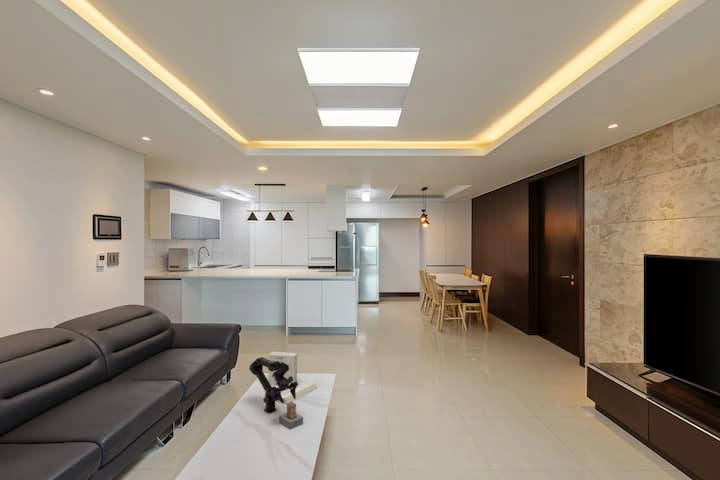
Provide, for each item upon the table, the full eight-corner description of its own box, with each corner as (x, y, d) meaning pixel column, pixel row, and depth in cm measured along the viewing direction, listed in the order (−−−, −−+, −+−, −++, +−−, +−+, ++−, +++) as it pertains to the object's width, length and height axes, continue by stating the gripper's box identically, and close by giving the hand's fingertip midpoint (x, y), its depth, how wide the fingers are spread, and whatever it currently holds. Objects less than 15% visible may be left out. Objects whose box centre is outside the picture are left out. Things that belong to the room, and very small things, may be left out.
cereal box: (268, 384, 285) (269, 354, 286) (272, 381, 293) (272, 351, 293) (293, 386, 282) (294, 355, 282) (296, 383, 289) (297, 353, 290)
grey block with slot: (279, 422, 225) (279, 416, 225) (292, 417, 232) (292, 410, 233) (290, 429, 217) (290, 422, 217) (303, 423, 224) (303, 417, 224)
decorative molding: (276, 405, 255) (286, 405, 250) (275, 398, 256) (285, 398, 251) (308, 389, 284) (317, 389, 279) (306, 383, 285) (316, 382, 280)
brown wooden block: (286, 422, 225) (286, 403, 225) (291, 420, 228) (291, 401, 228) (291, 425, 222) (291, 405, 222) (295, 423, 224) (295, 403, 224)
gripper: (273, 376, 223) (282, 399, 216) (296, 369, 237) (306, 390, 229) (266, 385, 229) (275, 407, 221) (289, 377, 242) (299, 398, 235)
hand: (289, 401), depth 226 cm, fingers open, 9 cm apart
